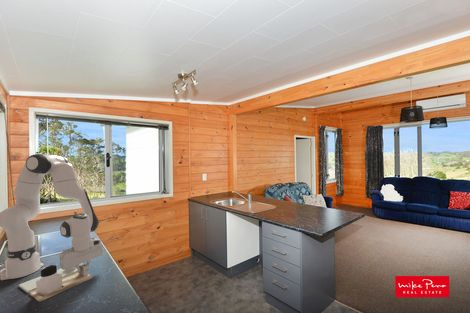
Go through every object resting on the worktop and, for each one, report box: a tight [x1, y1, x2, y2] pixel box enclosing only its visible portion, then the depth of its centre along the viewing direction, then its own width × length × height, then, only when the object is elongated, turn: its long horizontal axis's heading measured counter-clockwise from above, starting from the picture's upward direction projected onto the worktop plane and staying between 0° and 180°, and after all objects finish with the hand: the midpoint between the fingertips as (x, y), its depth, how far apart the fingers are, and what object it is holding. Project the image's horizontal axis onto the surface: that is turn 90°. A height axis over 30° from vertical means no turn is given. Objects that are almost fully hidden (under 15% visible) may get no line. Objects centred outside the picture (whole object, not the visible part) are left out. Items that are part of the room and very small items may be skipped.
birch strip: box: [28, 262, 93, 303], centre depth 117 cm, size 12×22×6 cm, turn 148°
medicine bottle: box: [36, 264, 63, 297], centre depth 112 cm, size 7×7×12 cm
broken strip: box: [18, 266, 78, 294], centre depth 124 cm, size 12×22×6 cm, turn 148°
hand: (83, 270), depth 125 cm, fingers closed on birch strip, 2 cm apart
